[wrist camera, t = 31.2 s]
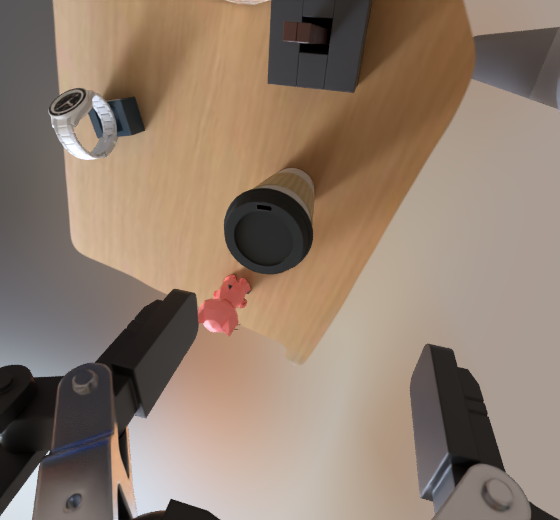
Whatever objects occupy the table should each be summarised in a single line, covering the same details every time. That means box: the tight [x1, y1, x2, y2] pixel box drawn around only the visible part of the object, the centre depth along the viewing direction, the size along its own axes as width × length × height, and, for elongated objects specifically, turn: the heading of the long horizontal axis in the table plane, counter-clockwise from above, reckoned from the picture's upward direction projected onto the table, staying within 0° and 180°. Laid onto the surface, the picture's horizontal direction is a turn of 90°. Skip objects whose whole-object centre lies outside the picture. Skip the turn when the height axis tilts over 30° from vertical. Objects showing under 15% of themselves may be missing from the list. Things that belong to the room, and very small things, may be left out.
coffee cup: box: [224, 168, 314, 274], centre depth 42 cm, size 10×10×15 cm
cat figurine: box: [198, 274, 251, 336], centre depth 54 cm, size 7×7×12 cm
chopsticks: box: [283, 21, 331, 44], centre depth 31 cm, size 2×1×16 cm, turn 85°
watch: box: [48, 88, 145, 160], centre depth 43 cm, size 6×8×11 cm
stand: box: [268, 0, 372, 93], centre depth 35 cm, size 9×9×7 cm
